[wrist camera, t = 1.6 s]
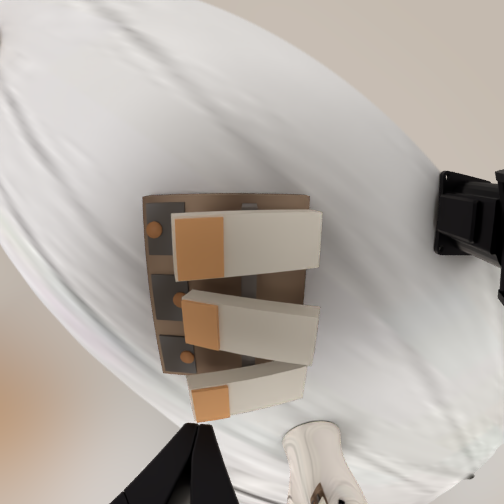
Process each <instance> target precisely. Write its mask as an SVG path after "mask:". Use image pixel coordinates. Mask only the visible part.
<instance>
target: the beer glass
mask: <svg viewBox="0 0 504 504" xmlns="http://www.w3.org/2000/svg"><path fill="white" fill-rule="evenodd" d="M282 445H283V448H284V451H285V454H286V456H287V459H288V462H289V468H290V479H289V489H288V497H287V504H368V502H367V500H366V498H365V496H364V494H363V492H362V490H361V488H360V486H359V484H358V483H357V481H356V479H355V477H354V476H353V474H352V472H351V471H350V469H349V467H348V465H347V463H346V461H345V459H344V456H343V453H342V448H341V434H340V429H339V428H338V426H337V425H335V424H333V423H331V422H326V421H315V422H309V423H305V424H302V425H299V426H297V427H295V428H293V429H292V430H290V431H289V432H288V433H287V434H286V435H285V436H284V438H283V441H282Z"/></svg>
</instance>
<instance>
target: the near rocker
mask: <svg viewBox="0 0 504 504" xmlns="http://www.w3.org/2000/svg"><path fill="white" fill-rule="evenodd" d="M171 227H172V247H173V263H174V274H175V280H176V282H179V281H191V280H202V279H213V278H224V277H234V276H245V275H255V274H265V273H274V272H284V271H293V270H302V269H311V268H319V259H320V245H321V229H322V212H319V211H315V210H310V209H291V210H239V211H211V212H189V213H171Z"/></svg>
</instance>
